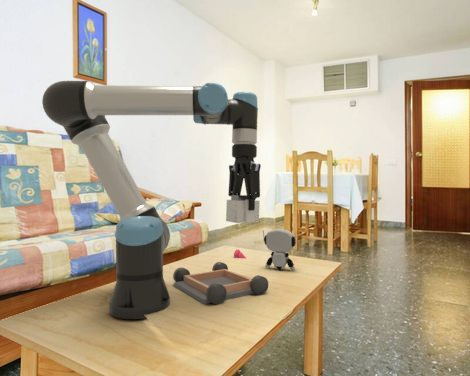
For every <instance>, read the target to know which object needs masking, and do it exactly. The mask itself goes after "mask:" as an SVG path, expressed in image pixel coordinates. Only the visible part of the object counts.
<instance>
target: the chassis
mask: <svg viewBox="0 0 470 376" xmlns="http://www.w3.org/2000/svg"><path fill="white" fill-rule="evenodd" d="M172 277H173V281H174V282H173V286H174V287H175V288H176V289H178V290H180V291H182V292H183V293H185V294H187V295H188V296H189V297H192V298H194V299H195V300H197V302H200V303H201V304H203V305H208V304H214V305H220V304H222V303H223V302H224V301H226V300H231V299H235V298H241V297H245V296H250V295H254V294H256V295H259V296H261V295H264V294H265V293H267V291H268V289H269V280H268V279H267V278H266V277H265V276H262V275H259V274H258V275H255V276H253V277H252V278H251V277H248V276H245V275H243V274H239V273H237V272H234V271H232V270H229V268H228V265H227V264H226V263H225V262H222V261H218V262H216V263H214V264H213V266H212V269H211V271H204V272H200V273H199V272H198V273H193V274H192V273H191V272H190V271H189V269H187V268H185V267H177V268H176V269H175V270H174V271H173V275H172Z"/></svg>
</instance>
